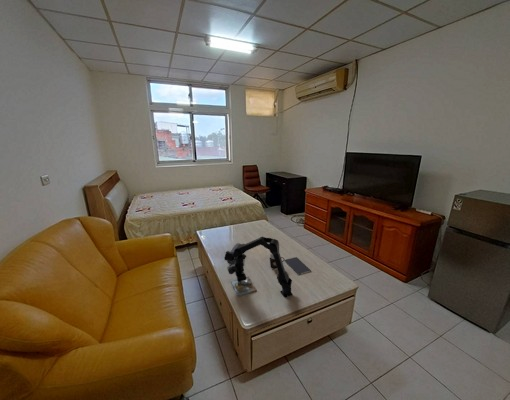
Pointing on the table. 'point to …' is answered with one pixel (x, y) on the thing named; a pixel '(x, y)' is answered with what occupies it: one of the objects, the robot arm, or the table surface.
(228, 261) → the bluetooth speaker
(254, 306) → the table surface
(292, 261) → the notebook
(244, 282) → the latch bar
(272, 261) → the coffee mug
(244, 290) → the door panel
